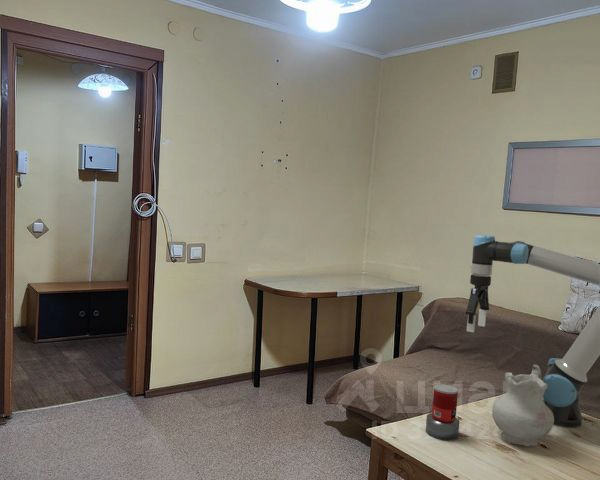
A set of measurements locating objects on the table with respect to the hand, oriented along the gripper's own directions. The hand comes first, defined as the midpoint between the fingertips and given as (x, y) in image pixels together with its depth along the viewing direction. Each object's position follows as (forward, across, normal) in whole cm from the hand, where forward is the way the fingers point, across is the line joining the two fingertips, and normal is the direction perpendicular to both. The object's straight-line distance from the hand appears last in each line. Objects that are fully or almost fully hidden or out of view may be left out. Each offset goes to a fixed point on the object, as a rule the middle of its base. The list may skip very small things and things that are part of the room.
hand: (476, 328), depth 201 cm
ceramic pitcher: (+32, +14, +23) cm, 41 cm away
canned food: (+27, +30, +1) cm, 40 cm away
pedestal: (+32, +30, 0) cm, 44 cm away
